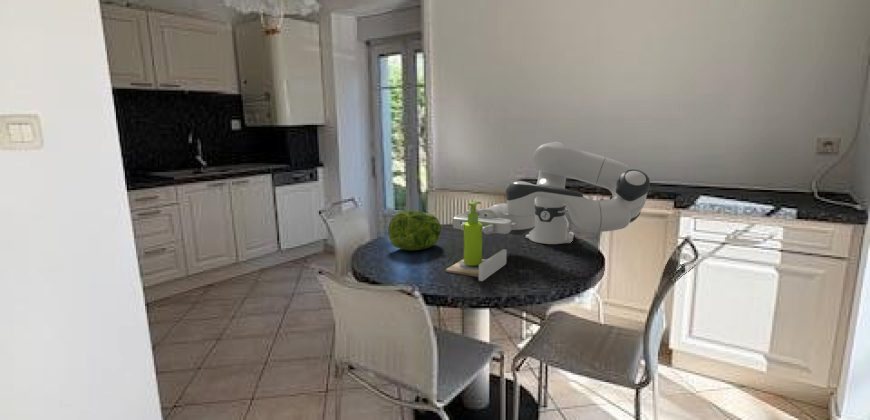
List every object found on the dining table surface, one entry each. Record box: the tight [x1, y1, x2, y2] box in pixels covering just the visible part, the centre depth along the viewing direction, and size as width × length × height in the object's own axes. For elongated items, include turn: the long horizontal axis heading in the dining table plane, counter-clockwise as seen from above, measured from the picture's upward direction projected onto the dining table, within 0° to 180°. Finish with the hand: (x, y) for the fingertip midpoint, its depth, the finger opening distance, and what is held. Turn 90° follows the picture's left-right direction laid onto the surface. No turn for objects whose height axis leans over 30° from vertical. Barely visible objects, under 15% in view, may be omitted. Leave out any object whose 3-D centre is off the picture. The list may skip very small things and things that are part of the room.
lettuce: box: [387, 210, 443, 252], centre depth 179 cm, size 16×21×15 cm
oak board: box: [445, 258, 487, 278], centre depth 156 cm, size 16×12×1 cm
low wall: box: [478, 248, 508, 282], centre depth 151 cm, size 20×1×5 cm, turn 151°
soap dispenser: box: [463, 200, 483, 265], centre depth 153 cm, size 6×7×20 cm
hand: (472, 228), depth 152 cm, fingers closed on soap dispenser, 6 cm apart
